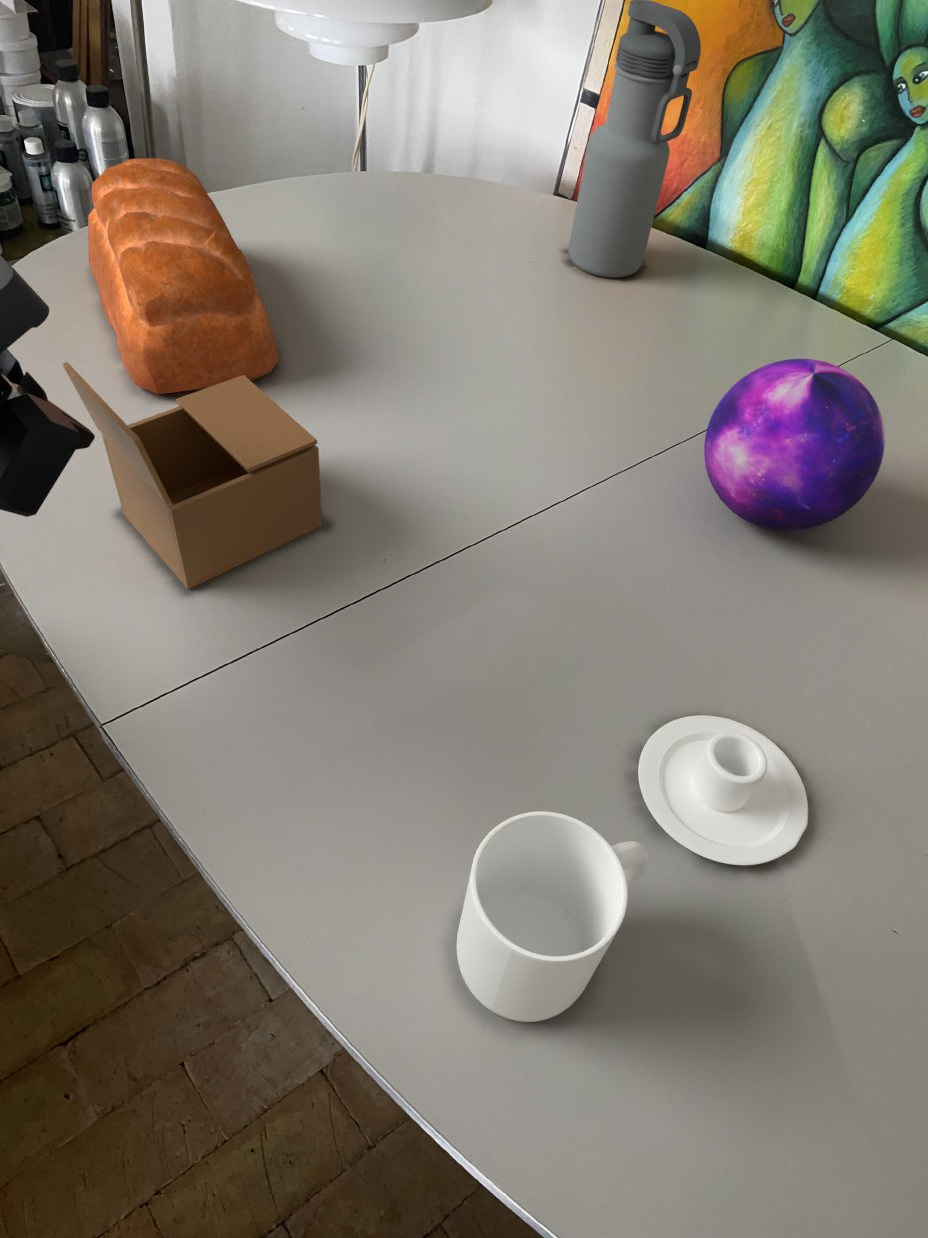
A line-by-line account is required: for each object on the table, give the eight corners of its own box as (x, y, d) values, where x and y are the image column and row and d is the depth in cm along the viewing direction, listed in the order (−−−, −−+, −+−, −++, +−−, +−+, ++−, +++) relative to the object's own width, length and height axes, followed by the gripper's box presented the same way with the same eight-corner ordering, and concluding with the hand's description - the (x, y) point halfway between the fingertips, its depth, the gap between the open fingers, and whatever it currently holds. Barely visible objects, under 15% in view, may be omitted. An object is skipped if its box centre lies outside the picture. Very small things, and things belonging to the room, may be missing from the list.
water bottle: (658, 265, 114) (724, 14, 93) (616, 289, 109) (676, 29, 88) (595, 236, 118) (646, -11, 97) (552, 258, 113) (595, 2, 92)
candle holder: (834, 855, 60) (861, 824, 56) (671, 883, 57) (690, 853, 54) (759, 712, 67) (780, 677, 64) (613, 731, 65) (626, 697, 61)
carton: (188, 589, 70) (169, 502, 63) (123, 514, 75) (99, 425, 68) (322, 525, 76) (318, 439, 69) (254, 460, 81) (244, 373, 74)
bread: (135, 406, 85) (105, 279, 75) (84, 255, 103) (55, 136, 93) (290, 380, 90) (282, 258, 81) (217, 240, 108) (202, 127, 99)
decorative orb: (667, 458, 87) (713, 322, 76) (809, 460, 89) (873, 327, 78) (708, 565, 77) (767, 427, 66) (866, 565, 79) (949, 430, 68)
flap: (171, 501, 63) (166, 504, 63) (101, 426, 68) (97, 428, 68) (139, 438, 58) (134, 441, 58) (66, 361, 63) (61, 363, 63)
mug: (588, 845, 58) (623, 762, 51) (664, 955, 54) (714, 883, 46) (430, 926, 54) (442, 849, 46) (499, 1053, 49) (525, 992, 42)
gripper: (-9, 298, 43) (219, 410, 56) (-138, 159, 51) (87, 285, 65) (-114, 483, 45) (130, 548, 58) (-222, 320, 53) (13, 410, 67)
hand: (89, 439), depth 62 cm, fingers closed
